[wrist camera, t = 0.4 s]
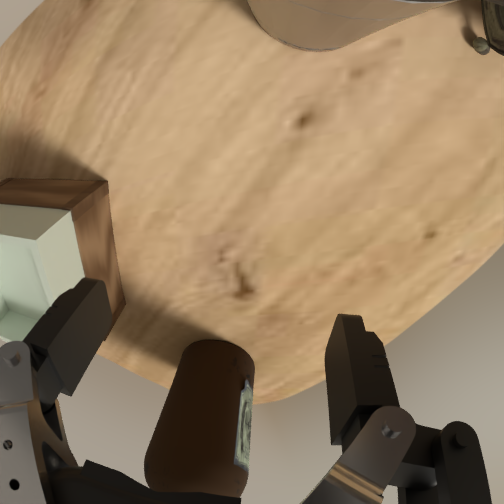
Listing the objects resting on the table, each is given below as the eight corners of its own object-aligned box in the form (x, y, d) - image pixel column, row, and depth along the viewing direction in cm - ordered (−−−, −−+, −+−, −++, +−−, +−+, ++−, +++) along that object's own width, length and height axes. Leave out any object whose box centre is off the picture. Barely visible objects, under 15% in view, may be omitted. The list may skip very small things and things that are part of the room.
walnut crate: (6, 178, 27) (-28, 200, 22) (107, 181, 27) (72, 208, 21) (34, 282, 35) (9, 310, 30) (125, 304, 35) (105, 340, 29)
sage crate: (-26, 202, 22) (-56, 224, 18) (71, 210, 22) (35, 240, 18) (10, 309, 30) (-10, 334, 26) (102, 338, 29) (84, 372, 25)
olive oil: (183, 380, 42) (139, 542, 20) (173, 329, 36) (106, 531, 15) (257, 389, 41) (236, 561, 20) (263, 340, 35) (237, 562, 14)
